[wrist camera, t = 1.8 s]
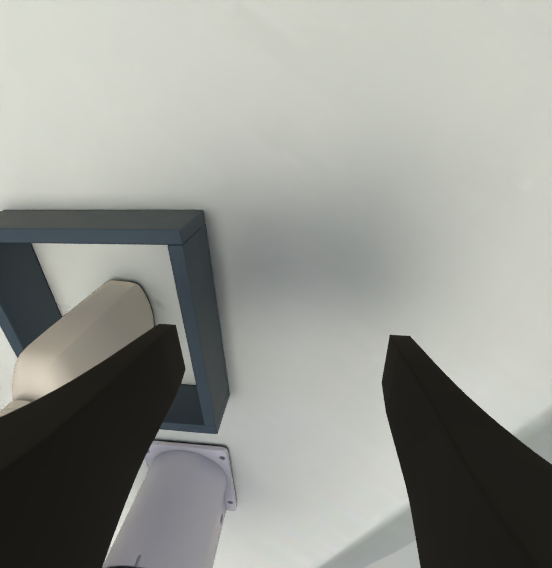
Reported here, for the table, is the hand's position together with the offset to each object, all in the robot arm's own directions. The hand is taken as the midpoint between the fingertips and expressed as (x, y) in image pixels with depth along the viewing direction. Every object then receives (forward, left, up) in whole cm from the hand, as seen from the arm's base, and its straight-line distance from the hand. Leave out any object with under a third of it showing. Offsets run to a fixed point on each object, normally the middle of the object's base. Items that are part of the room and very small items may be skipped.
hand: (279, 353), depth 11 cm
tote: (-5, +12, -9) cm, 15 cm away
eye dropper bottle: (-5, +12, -9) cm, 15 cm away
